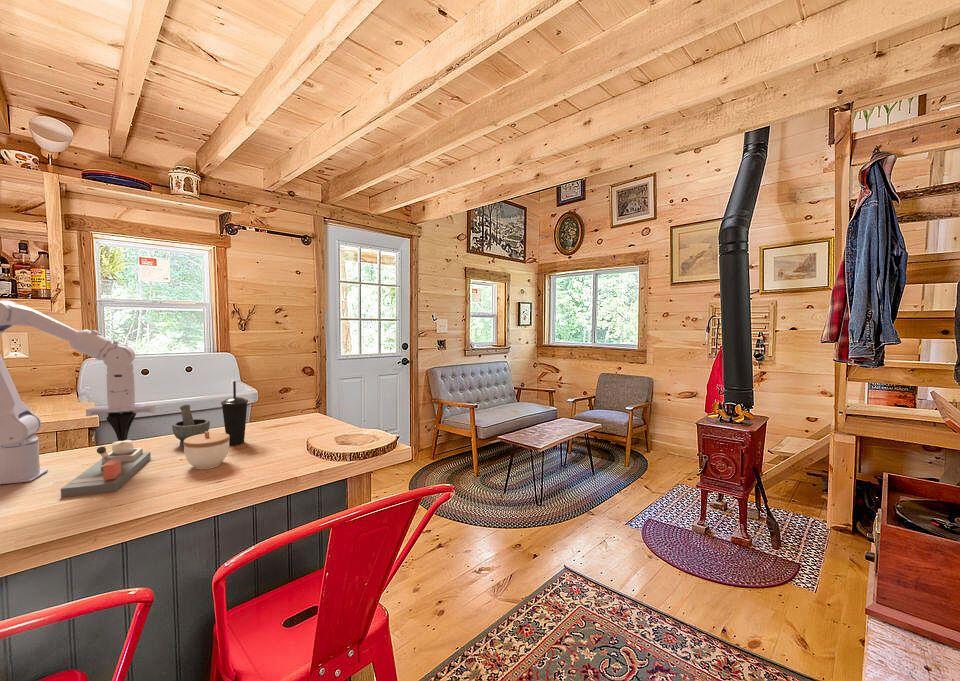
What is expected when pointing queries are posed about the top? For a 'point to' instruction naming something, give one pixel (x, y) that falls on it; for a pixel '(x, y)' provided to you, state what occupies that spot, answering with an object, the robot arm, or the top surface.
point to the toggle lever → (103, 453)
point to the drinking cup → (235, 417)
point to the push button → (122, 447)
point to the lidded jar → (206, 449)
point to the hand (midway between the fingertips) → (122, 440)
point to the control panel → (94, 476)
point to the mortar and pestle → (189, 425)
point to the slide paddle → (112, 469)
